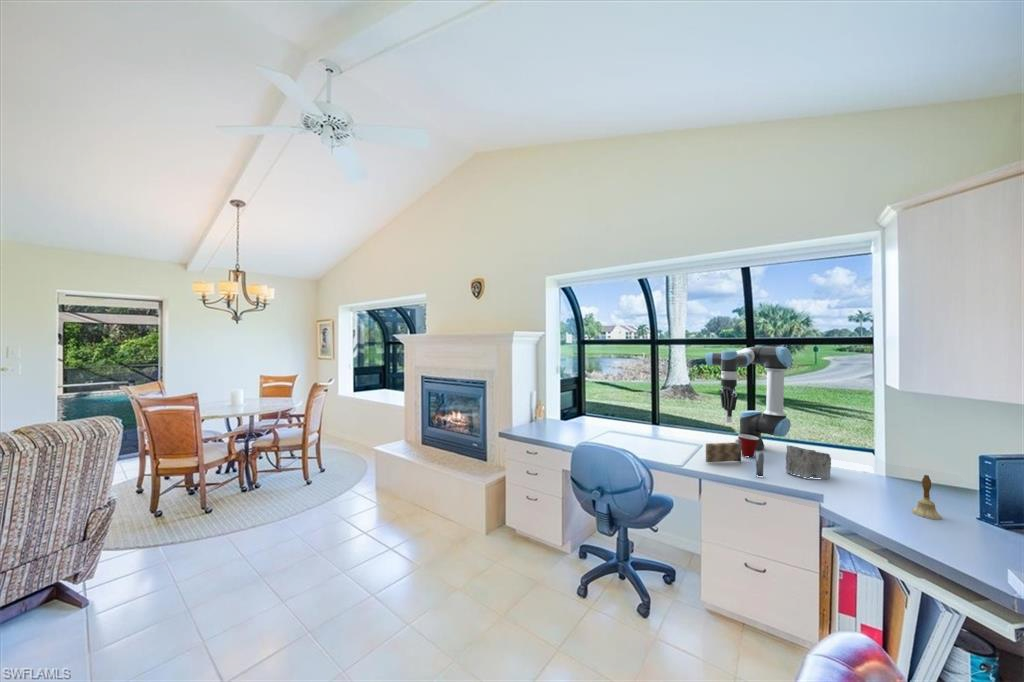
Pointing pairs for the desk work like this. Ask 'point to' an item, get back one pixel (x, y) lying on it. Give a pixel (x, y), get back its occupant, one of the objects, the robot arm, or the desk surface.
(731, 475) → the desk surface
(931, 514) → the hand bell
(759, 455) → the gate frame
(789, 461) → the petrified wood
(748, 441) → the plastic cup
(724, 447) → the gate
